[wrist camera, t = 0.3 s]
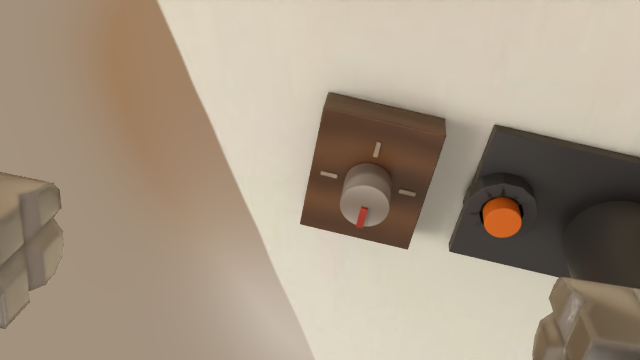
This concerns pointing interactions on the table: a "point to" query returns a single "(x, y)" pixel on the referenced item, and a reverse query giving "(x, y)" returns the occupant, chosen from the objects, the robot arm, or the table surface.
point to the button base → (539, 196)
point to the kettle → (605, 244)
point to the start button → (502, 217)
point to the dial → (366, 195)
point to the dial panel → (376, 148)
